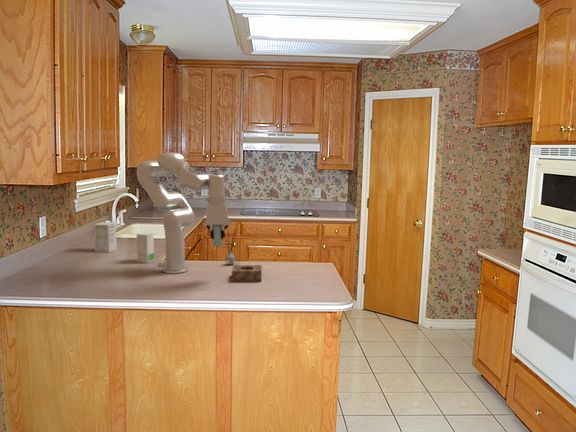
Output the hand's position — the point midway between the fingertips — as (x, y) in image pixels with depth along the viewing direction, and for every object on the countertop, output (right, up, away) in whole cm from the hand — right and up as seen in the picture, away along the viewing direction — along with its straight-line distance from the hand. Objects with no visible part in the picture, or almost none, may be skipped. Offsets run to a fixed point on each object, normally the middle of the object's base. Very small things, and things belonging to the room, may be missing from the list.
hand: (217, 238), depth 244 cm
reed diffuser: (+3, -16, +32) cm, 36 cm away
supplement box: (-76, -11, +64) cm, 100 cm away
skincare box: (-45, -14, +37) cm, 60 cm away
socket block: (+14, -20, +4) cm, 24 cm away
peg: (0, -3, 0) cm, 3 cm away
